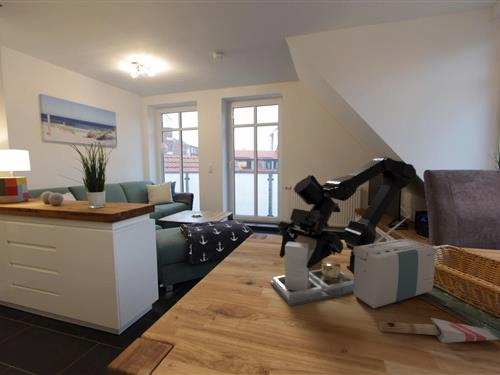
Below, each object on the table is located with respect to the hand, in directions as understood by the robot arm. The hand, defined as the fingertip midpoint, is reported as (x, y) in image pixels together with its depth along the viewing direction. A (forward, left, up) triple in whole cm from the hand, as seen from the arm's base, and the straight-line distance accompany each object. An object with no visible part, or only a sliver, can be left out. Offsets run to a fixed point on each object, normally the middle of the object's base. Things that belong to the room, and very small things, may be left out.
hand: (293, 262), depth 63 cm
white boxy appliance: (-24, +10, -9) cm, 27 cm away
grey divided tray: (-7, 0, -8) cm, 11 cm away
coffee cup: (-17, -21, -9) cm, 29 cm away
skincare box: (-2, -1, -8) cm, 8 cm away
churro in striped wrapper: (-19, +24, -9) cm, 31 cm away
